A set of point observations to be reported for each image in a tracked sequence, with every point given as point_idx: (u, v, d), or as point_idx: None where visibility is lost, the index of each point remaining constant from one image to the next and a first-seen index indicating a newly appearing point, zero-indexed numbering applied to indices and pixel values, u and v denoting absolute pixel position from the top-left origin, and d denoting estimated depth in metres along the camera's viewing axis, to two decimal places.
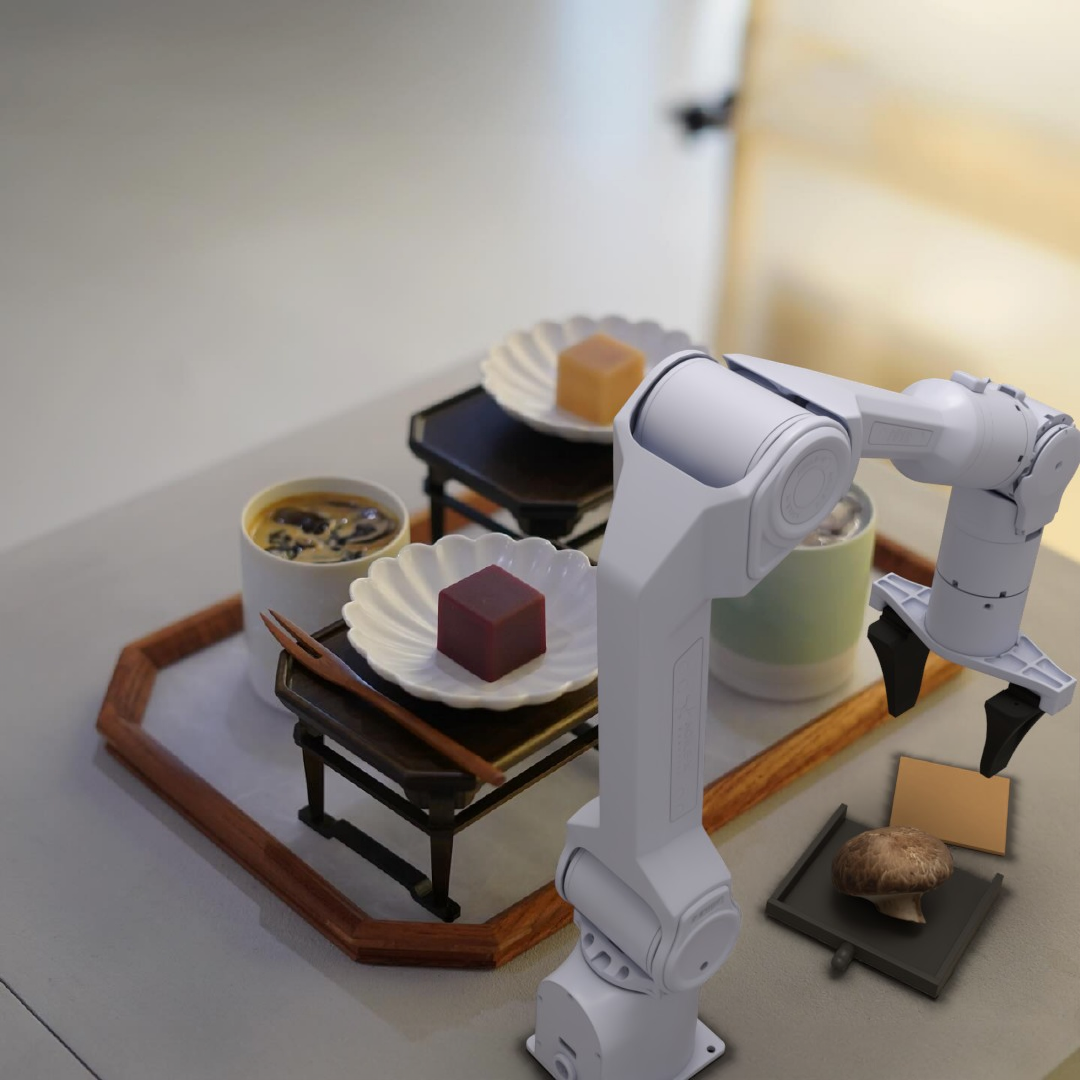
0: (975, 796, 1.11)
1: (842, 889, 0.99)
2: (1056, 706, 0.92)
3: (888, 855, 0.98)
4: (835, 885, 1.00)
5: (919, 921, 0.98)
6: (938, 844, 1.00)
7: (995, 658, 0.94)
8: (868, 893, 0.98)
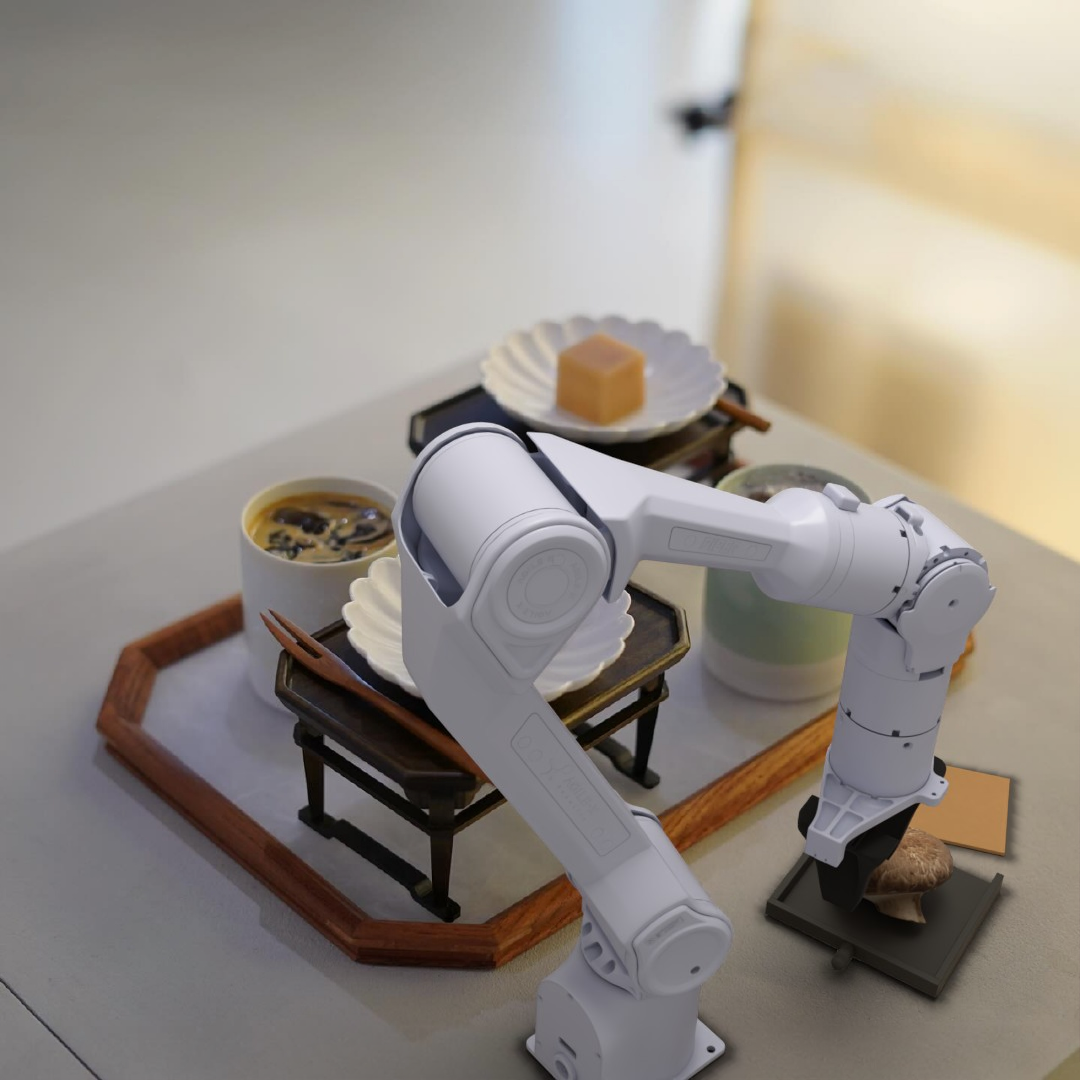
0: (975, 796, 1.11)
1: None
2: (809, 846, 0.84)
3: None
4: None
5: (919, 921, 0.98)
6: (938, 844, 1.00)
7: (840, 783, 0.86)
8: (868, 894, 0.98)
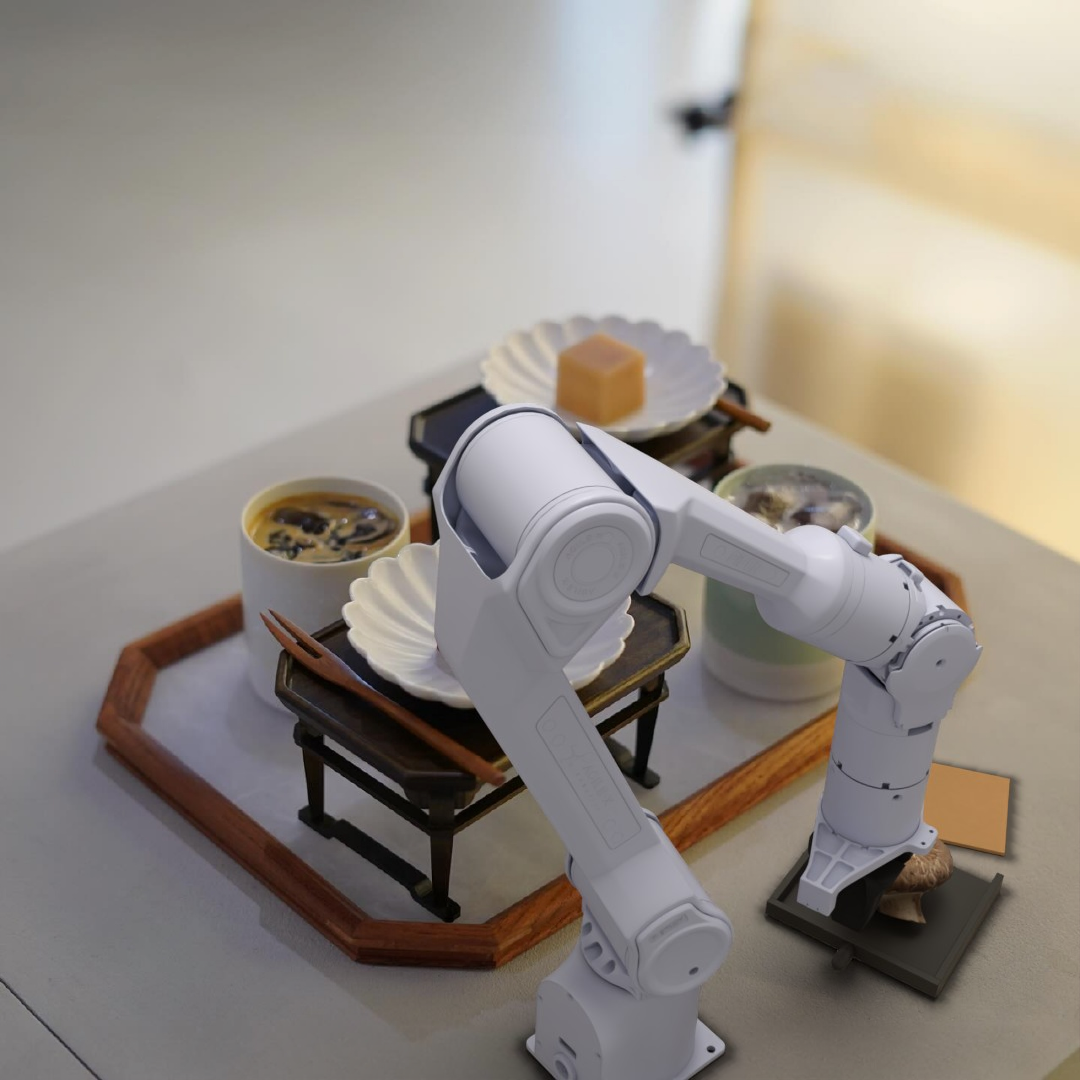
0: (975, 796, 1.11)
1: None
2: (802, 895, 0.86)
3: None
4: None
5: (919, 921, 0.98)
6: (938, 844, 1.00)
7: (832, 832, 0.89)
8: None
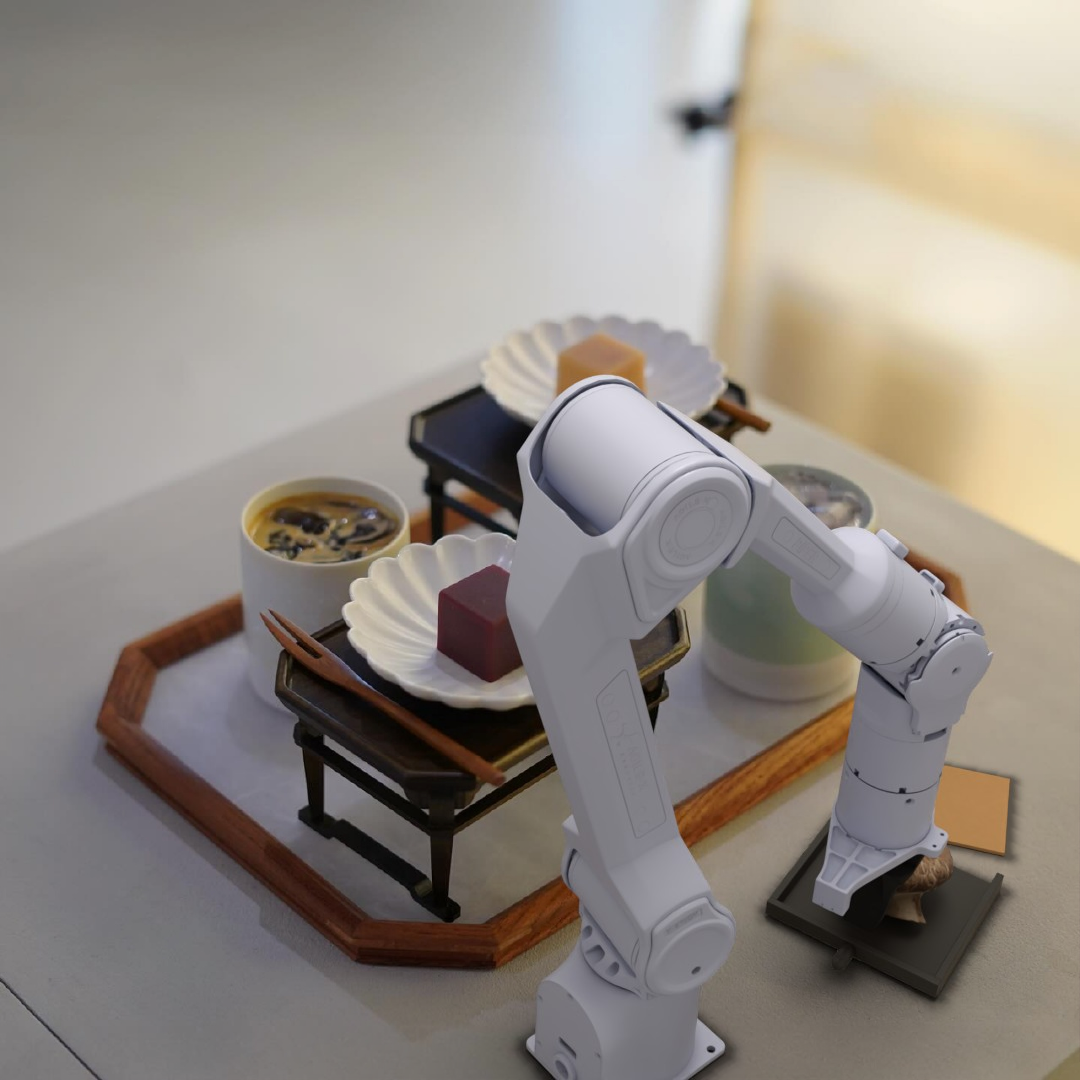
0: (975, 796, 1.11)
1: None
2: (817, 896, 0.89)
3: None
4: None
5: (919, 921, 0.98)
6: None
7: (846, 835, 0.92)
8: None
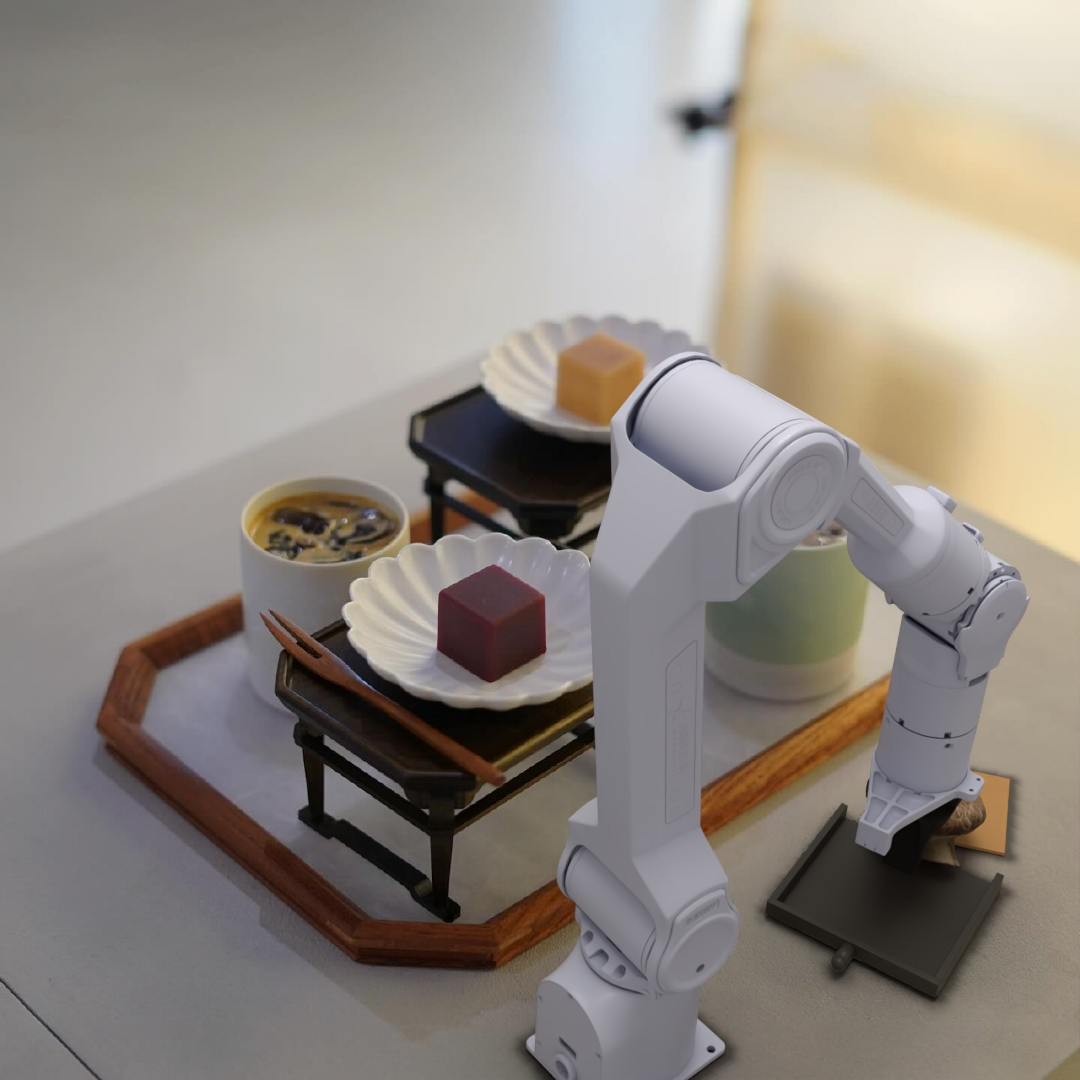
0: None
1: None
2: (860, 837, 0.93)
3: None
4: None
5: (954, 864, 1.03)
6: None
7: (886, 780, 0.96)
8: None
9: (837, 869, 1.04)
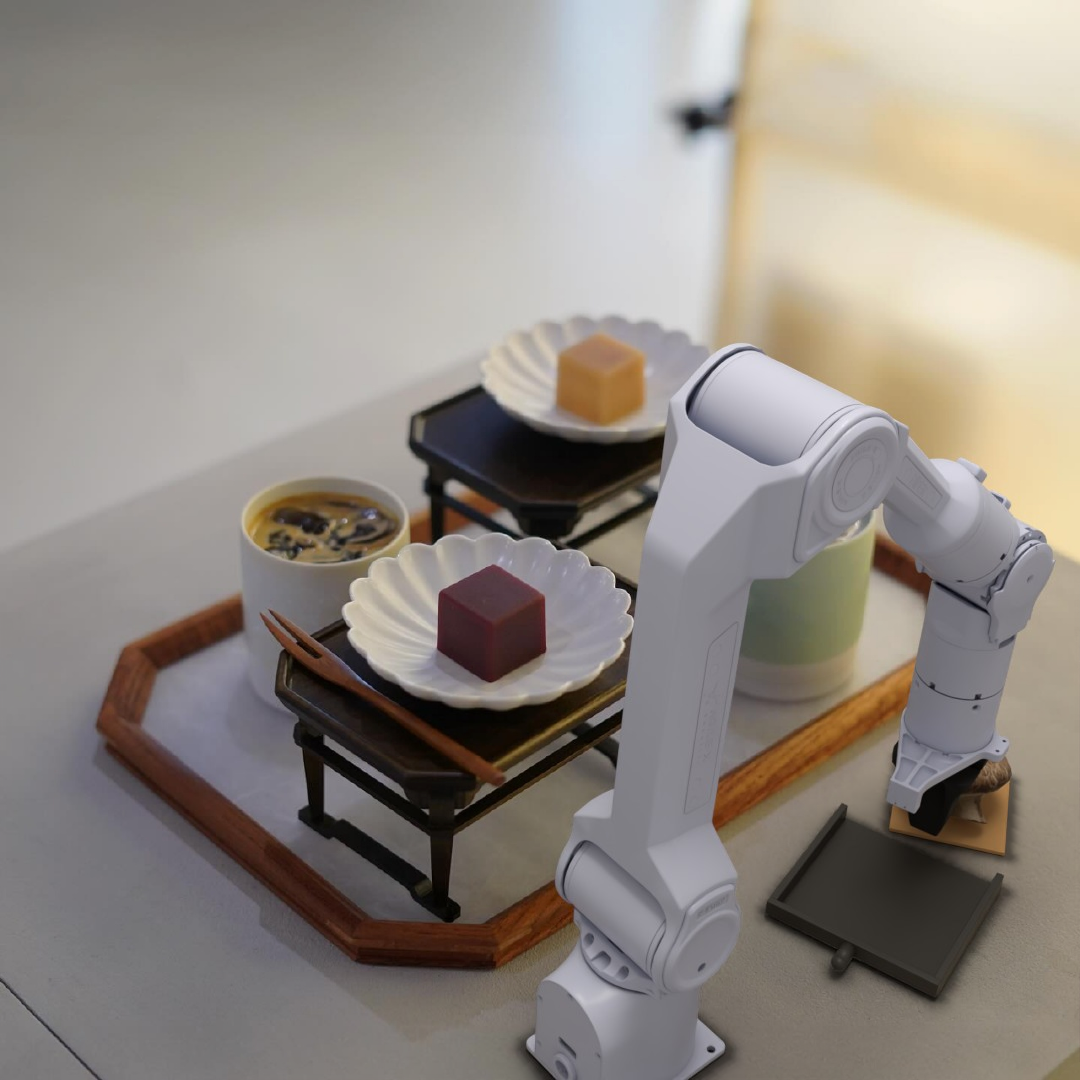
0: None
1: None
2: (890, 795, 0.96)
3: None
4: None
5: (981, 821, 1.06)
6: None
7: (915, 742, 0.99)
8: None
9: (837, 869, 1.04)
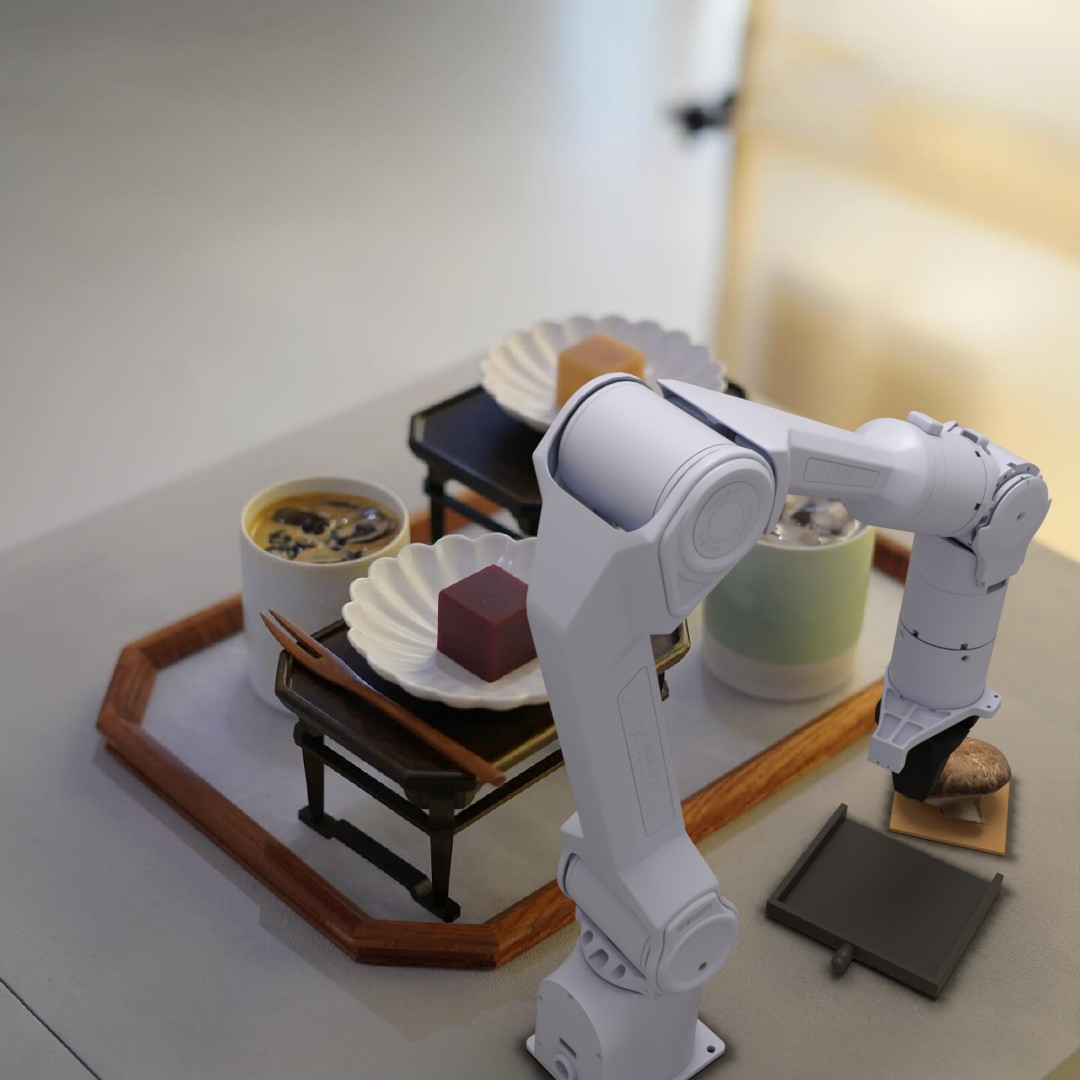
0: None
1: None
2: (873, 754, 0.89)
3: (952, 760, 1.05)
4: None
5: (981, 822, 1.06)
6: (996, 751, 1.08)
7: (900, 697, 0.92)
8: (934, 796, 1.06)
9: (837, 869, 1.04)
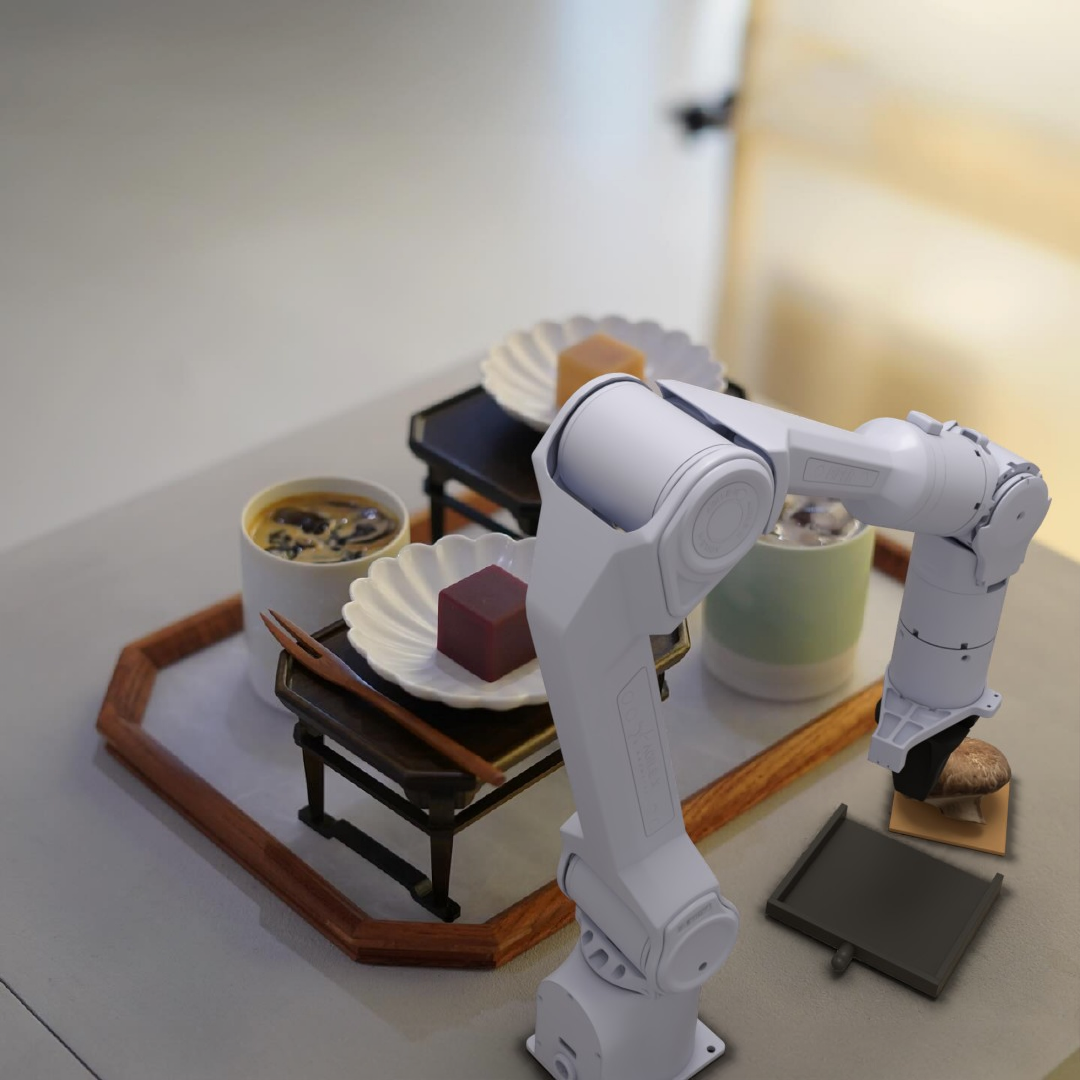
0: None
1: None
2: (873, 753, 0.89)
3: (952, 760, 1.05)
4: None
5: (981, 822, 1.06)
6: (996, 751, 1.08)
7: (900, 697, 0.91)
8: (934, 797, 1.06)
9: (837, 869, 1.04)
